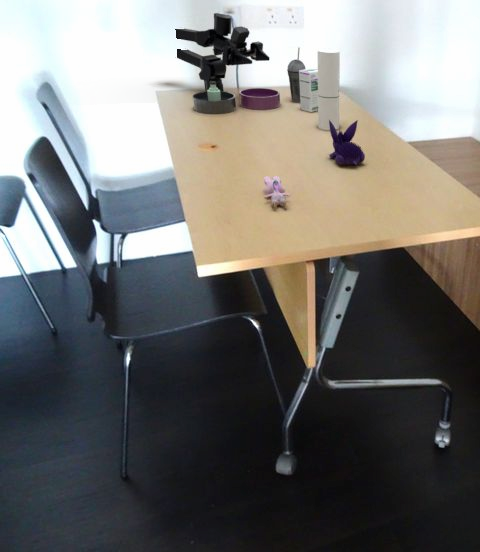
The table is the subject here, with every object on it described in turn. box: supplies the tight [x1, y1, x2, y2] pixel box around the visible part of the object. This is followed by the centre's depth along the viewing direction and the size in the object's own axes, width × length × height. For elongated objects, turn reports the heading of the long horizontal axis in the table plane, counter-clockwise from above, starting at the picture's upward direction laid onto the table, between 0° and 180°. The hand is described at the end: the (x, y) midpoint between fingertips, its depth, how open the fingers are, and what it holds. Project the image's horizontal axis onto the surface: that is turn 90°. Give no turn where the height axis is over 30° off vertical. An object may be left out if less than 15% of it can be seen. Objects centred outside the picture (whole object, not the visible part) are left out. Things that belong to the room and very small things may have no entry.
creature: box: [328, 119, 366, 166], centre depth 165 cm, size 9×18×12 cm, turn 27°
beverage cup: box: [286, 46, 307, 104], centre depth 219 cm, size 7×7×20 cm
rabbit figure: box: [263, 175, 291, 210], centre depth 140 cm, size 6×6×15 cm
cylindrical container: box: [317, 48, 341, 131], centre depth 190 cm, size 7×7×25 cm
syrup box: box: [299, 67, 318, 113], centre depth 211 cm, size 6×6×14 cm
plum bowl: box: [238, 87, 281, 111], centre depth 213 cm, size 15×15×5 cm
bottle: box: [207, 81, 221, 101], centre depth 203 cm, size 4×4×10 cm
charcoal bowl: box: [192, 90, 237, 115], centre depth 205 cm, size 15×15×5 cm
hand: (260, 60), depth 206 cm, fingers open, 9 cm apart
